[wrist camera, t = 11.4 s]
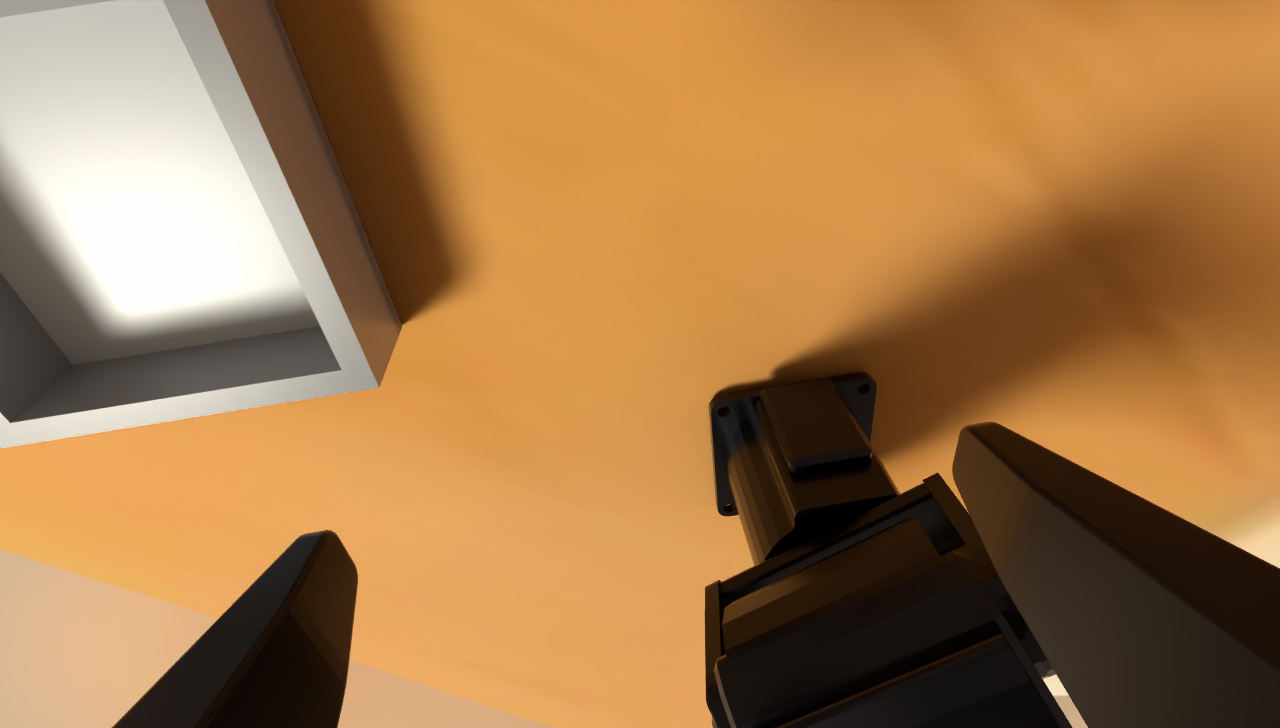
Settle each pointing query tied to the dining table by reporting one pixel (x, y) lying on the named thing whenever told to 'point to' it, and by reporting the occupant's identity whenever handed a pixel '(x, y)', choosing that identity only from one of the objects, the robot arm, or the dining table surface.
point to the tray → (171, 222)
